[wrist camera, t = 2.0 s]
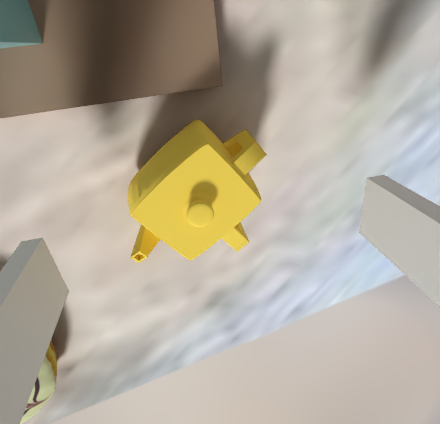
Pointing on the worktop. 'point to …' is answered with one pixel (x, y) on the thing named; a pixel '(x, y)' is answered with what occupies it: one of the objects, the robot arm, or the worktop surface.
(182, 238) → the teapot
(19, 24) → the base brick
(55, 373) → the decorated donut
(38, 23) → the walnut board
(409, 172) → the worktop surface
